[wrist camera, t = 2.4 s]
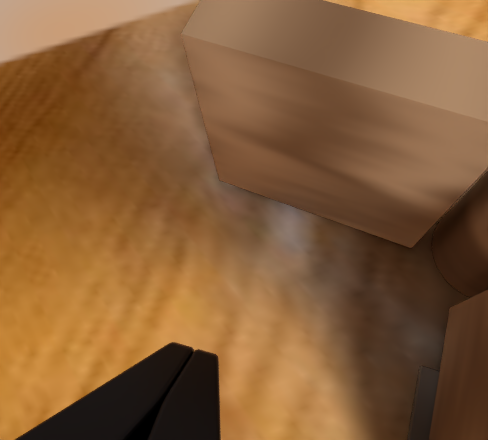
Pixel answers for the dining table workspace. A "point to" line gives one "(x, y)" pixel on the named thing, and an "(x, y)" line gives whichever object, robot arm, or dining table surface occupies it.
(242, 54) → the hinged leg
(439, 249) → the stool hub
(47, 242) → the dining table surface
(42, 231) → the dining table surface
